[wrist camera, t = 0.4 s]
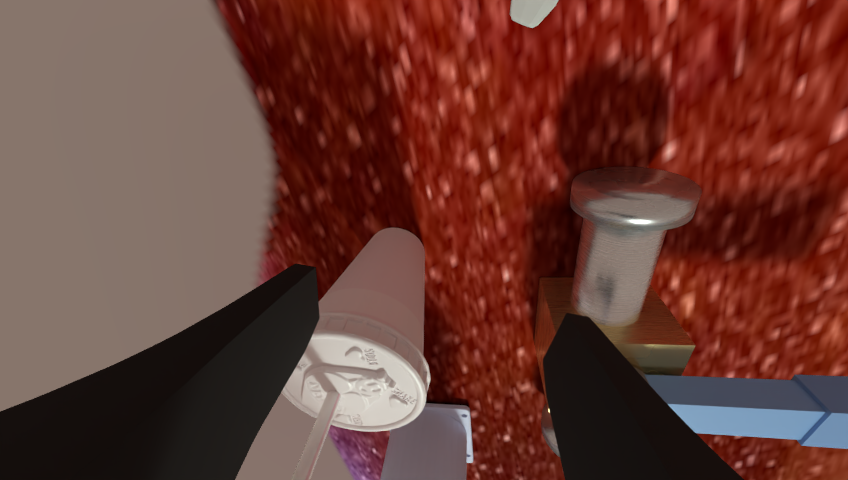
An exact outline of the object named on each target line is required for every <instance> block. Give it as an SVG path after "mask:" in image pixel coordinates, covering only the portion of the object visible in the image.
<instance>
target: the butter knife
mask: <svg viewBox="0 0 848 480" xmlns="http://www.w3.org/2000/svg"><path fill="white" fill-rule="evenodd" d="M557 2H558V0H511V7H510V16H511V18H512V20H513V21H515V22H517V23H519V24H521V25H524V26H527V27H531V28H533V27H535V26H537V25H539V24H540V22H541V21H542V20H543V19H544V18H545V17H546V16H547V15H548V14H549V12H550V11H551V10H552V9H553V8H554V7H555V6H556V4H557Z"/></svg>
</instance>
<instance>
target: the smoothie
mask: <svg viewBox="0 0 848 480" xmlns="http://www.w3.org/2000/svg"><path fill="white" fill-rule="evenodd" d="M424 280H425V250H424V247H423V245H422V243H421V241H420V240H419V239H418V238H417V237H416V236H415V235H414V234H413V233H411V232H409V231H407V230H405V229H401V228H386V229H383V230H381V231H379V232H377V233H376V234H375V235H374V236H373V237H372V238H371V240H370V241H369V242H368V243H367V244H366V246H365V247H364V248H363V249H362V250H361V252H360V253H359V254H358V255H357V257H356V258H355V259H354V260H353V261H352V263H351V264H350V265H349V266H348V267H347V269H346V270H345V271H344V272H343V273H342V275H341V276H340V277H339V278H338V279H337V281H336V282H335V283H334V284H333V285H332V287H331V288H330V289H329V290H328V292H327V293H326V294H325V295H324V296H323V298H322V299H321V300H320V301H319V315H320V318H319V321H318V323H317V325H316V328H315V330H314V333H313V335H312V337H311V339H310V342H309V344H308V346H307V348H306V350H305V352H304V354H303V356H302V357H301V359H300V361H299V363H298V364H297V366H296V368H295V370H294V371H293V373H292V375H291V376H290V378H289V380H288V381H287V383H286V385H285V387H284V388H283V390H282V392H281V393H282V394H283V395H284V396H285V397H286V398H287V399H288V400H289V401H290V402H291V403H293V404H294V405H295V406H296V407H298V408H299V409H300V410H302V411H304V412H305V413H307V414H309V415H310V416H312V417H314V418H316V422H315V424H314V426H313V429H312V431H311V434H310V436H309V439H308V441H307V443H306V445H305V448H304V450H303V453H302V455H301V458H300V460H299V462H298V465H297V467H296V469H295V472H294V474H293V477H292V479H291V480H310V478H311V476H312V473H313V470H314V468H315V465H316V462H317V459H318V457H319V454H320V452H321V449H322V446H323V444H324V441H325V438H326V436H327V433H328V430H329V428H330V425H334V426H337V427H342V428H346V429H350V430H358V431H375V432H376V431H386V430H391V429H395V428H399V427H401V426H404V425H406V424H408V423H410V422H411V421H413V420H414V419H415V418H416V417H418V416H419V414H420V413H421V412H422V410H423V408H424V406H425V403H426V396H427V391H428V387H429V384H430V380H431V377H430V371H429V365H428V363H427V361H426V359H425V358H424V356H423V348H424Z"/></svg>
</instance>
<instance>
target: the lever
mask: <svg viewBox="0 0 848 480" xmlns="http://www.w3.org/2000/svg"><path fill="white" fill-rule="evenodd" d="M634 368H635V367H634ZM635 369H636V370H637V372H638V373H639V374H640V375H641V376H642V377H643V378H644V379H645V380H646V382H647V383H648V384H649V385H650V386H651V387H652V388H653V389H654V390H655V391H656V392H657V394H658V395H659V396H660V397H661V398H662V399H663V400H664V401H665V402H666V403H667V404H668V405H669V406H670V407H671V408H672V410H673V411H674V412H675V413H676V414H677V415H678V416H679V417H680V418H681V419H682V420H683V421H684V422H685V423H686V424H687V425H688V426H689V427H690V428H691V429H692V430H693V431H694V432H695V433H704V434H719V435H734V436H750V437H765V438H780V439H796V440H797V441H798V442H799V443H800V444H801V446H815V447H829V448H844V449H848V377H844V376H816V375H794V377H793V378H792V379H791V380H773V379H747V378H721V377H694V376H668V375H645V373H643V372H642V371H641V370H639V369H637V368H635Z"/></svg>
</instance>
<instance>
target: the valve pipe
mask: <svg viewBox="0 0 848 480" xmlns="http://www.w3.org/2000/svg"><path fill="white" fill-rule="evenodd" d="M701 193H702V190H701V188H700V186H699V185H698V184H697V183H695V182H694V181H692V180H690V179H688V178H686V177H684V176H681V175H678V174H675V173H672V172H668V171H663V170H658V169H651V168H643V167H604V168H598V169H592V170H589V171H585V172H583V173H581V174H579V175H577V176H576V177H575V178H574V179H573V181H572V188H571V195H570V206H571V208H572V209H573V211H575V212H576V213H577V214H578V215H580V216H581V217H583V223H582V229H581V235H580V241H579V248H578V254H577V260H576V267H575V273H574V277H540V280H539V291H538V303H537V314H536V325H535V336H534V345H535V350H536V355H537V360H538V364H539V369H540V374H541V379H542V384H543V389H544V394H545V398H546V404H545V406H544V408H543V412H542V419H541V429H542V433H543V436H544V438H545V440H546V442H547V444H548V445H549V447H550V448H551V449H552V450H553V451H554V452H555V453H556V454H557V455H558V456H559V457H560V454H559V450H558V446H557V441H556V437H555V433H554V428H553V424H552V419H551V415H550V410H549V406H548V401H547V397H546V388H545V380H544V368H543V358H544V356H545V354H546V352H547V350H548V348H549V347H550V345H551V343H552V341H553V339H554V337H555V335H556V333H557V331H558V329H559V327H560V325H561V323H562V321H563V319H564V317H565V315H566V313H571V314H576V315H582V316H587V317H589V318H590V319H591V320H592V321H593V322H594V323H595V324H596V325H597V326H598V327H599V328H600V330H601V331H602V332H603V333H604V334H605V335H606V336H607V337H608V339H609V340H610V341H611V342H612V343H613V344H614V345H615V347H616V348H617V349H618V350H619V351H620V352H621V353H622V355H623V356H624V357H625V358H626V359H627V360H628V361H629V362H630V364H631V365H632V366H633V367H635V368H637V369H639V370H641V371H642V372H643V373H645V375H668V376H681V375H682V373H683V371H684V369H685V367H686V364H687V362H688V360H689V358H690V356H691V354H692V352H693V350H694V347H695V344H694V343H693V341H692V340H691V339H690V337H689V336H688V335H687V333H686V332H685V331H684V329H683V328H682V327H681V325H680V324H679V323H678V321H677V320H676V319H675V317H674V316H673V314H672V313H671V312H670V310H669V309H668V308H667V306H666V305H665V304H664V302H663V301H662V300H661V298H660V297H659V296H658V294H657V293H656V292H655V290H654V289H653V288H652V286H651V285H650V283H651V279H652V276H653V273H654V270H655V267H656V264H657V260H658V257H659V254H660V251H661V248H662V245H663V241H664V238H665V235H666V232H667V230H668V229H673V228H677V227H680V226H683V225H685V224H687V223H688V222H690V221H691V219H692V218H693V216H694V213H695V210H696V207H697V205H698V202H699V199H700V196H701Z"/></svg>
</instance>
